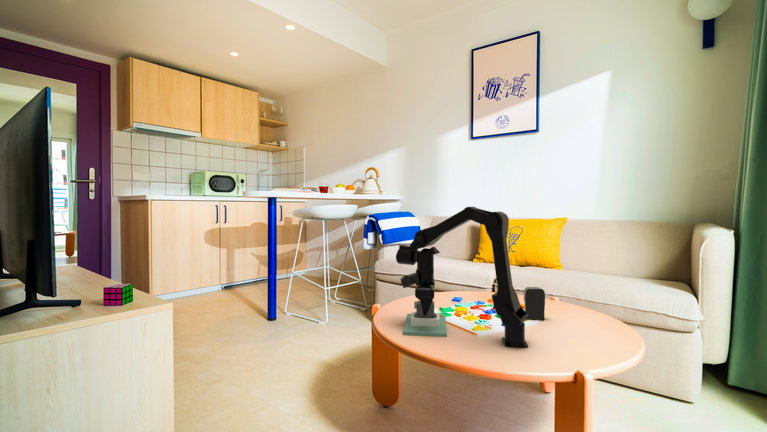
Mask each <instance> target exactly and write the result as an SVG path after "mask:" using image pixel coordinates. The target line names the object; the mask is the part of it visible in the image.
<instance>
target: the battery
mask: <svg viewBox="0 0 767 432" xmlns="http://www.w3.org/2000/svg"><path fill="white" fill-rule="evenodd" d="M523 302H524V311H525V312H526V313H527V314H528V316H527V319H526V320H537V321H539V320H540V321H543V320H545V310H546V308H545V307H546V292H545V290H544V288H541V287H539V286H536V287H535V286H527V287H525V288H524V290H523Z"/></svg>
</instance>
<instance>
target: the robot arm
mask: <svg viewBox="0 0 767 432" xmlns="http://www.w3.org/2000/svg"><path fill="white" fill-rule="evenodd" d="M470 221H472V222H475V223H478V224H480V225H483V226H484V228H485V231H486V234H487V236H488V238H489V240H490V242H491V247H492V255H493V263H494V270H495V278H496V284H497V285H496V286H497V287H496V288H497V290H496V292H494V294H492V295H491V300H492V302H493V307H492V309H493V310H495V313H496V315H497V316H498V317H499V319H500V320H501V324H502V325H503V326H504V336H501V341H502V342H503V345H504V346H505V347H511V348H512V347H513V348H529V344H528V343H527V342H526V339H525V338H526V337H525V336H526V335H525V334H526V333H525V332H526V329H525V327H526V324H525V322H526V321H527V320H528V319H527V316H528V314H527V313H526V312H525V309H524V308H522V306H521V302H520V299H519V297H518V294H517V292H516V290H515V288H514V285H513V280H512V272H511V263H510V257H509V256H510V255H509V250H508V248H509V247H508V243H507V242H508V241H507V240H508V234H509V221H510V220H509V216H508V215H507V214H506V213H505V212H503V211H490V210H487V209H486V210H485V209H481V208H477V207H476V206H466V207H465V208H463V209H461V210H460V211H458V212H457V213H455V214H454V215H452V216H450V217H448V218H447V219H445V220H443V221H441V222H440V223H438V224H436V225H433V226H430V227H426V228H423V229H420V230H418V231H416V232H415V233H414V239H413V240H412V242H411V243H410V244H409V245H405V244H400V245H399V246H398V248H397V251H396V254H395V260H396V262H397V264H399V265H408V266H414V265H416V270H415V272H413V273H410V274H406V275H403V276H402V277H400V279H399V281H400V283H401V284H400V285H402V287H403V289H406V288H408V287H410V286H413V285H415V286H416V287H415V289H414V296H415V298H416V299H417V300H418V301H420V302H421V306H422V311H423V315H427V313H428V311H429V308H430V306H431V303H432V301H434V299H435V281H436V280H435V279H434V278H435V276H434V275H435V270H434V267H435V266H434V260H435V258H434V255H438V254H440V253H441V251H440V250H439V249H438V248H436V246H434V245H435V244H436V243H437V242H438V241H440V240H441V239H442V237H443V236H445V235H446V234H448V233H450V232H451V231H453V230H455V229H458V228H459V227H461V226H462V225H463V226H464V224H466V223H468V222H470ZM426 247H427V248H426ZM428 247H430V248H428ZM419 249H421V250H419Z"/></svg>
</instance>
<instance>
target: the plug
mask: <svg viewBox="0 0 767 432" xmlns="http://www.w3.org/2000/svg"><path fill="white" fill-rule="evenodd" d="M413 305H414V307H413V308H414V310H416V311H415V312H416V318H434V313H435V301H434V300H433V301H432V303H431V306H430V308H429V311H428V313H427V315H423V311H422V306H421V302H420V300H417V301H414V303H413Z"/></svg>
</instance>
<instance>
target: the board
mask: <svg viewBox="0 0 767 432" xmlns="http://www.w3.org/2000/svg"><path fill="white" fill-rule="evenodd" d="M446 318H447V317H446V314H442V313H440V312H434V318H416V311H412V312H411V313H407V314H406V317H405V321H404V325H403V329H402V335H403V336H421V337H423V336H424V337H442V338H443V337H444V338H447V337H448V336H447V335H448V334H447V333H448V332H447V321H446V320H447V319H446Z"/></svg>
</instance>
